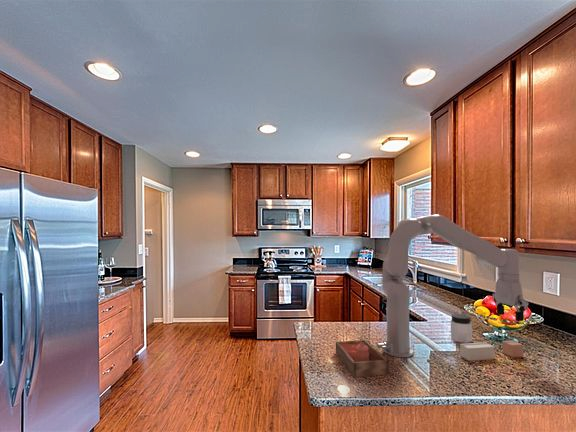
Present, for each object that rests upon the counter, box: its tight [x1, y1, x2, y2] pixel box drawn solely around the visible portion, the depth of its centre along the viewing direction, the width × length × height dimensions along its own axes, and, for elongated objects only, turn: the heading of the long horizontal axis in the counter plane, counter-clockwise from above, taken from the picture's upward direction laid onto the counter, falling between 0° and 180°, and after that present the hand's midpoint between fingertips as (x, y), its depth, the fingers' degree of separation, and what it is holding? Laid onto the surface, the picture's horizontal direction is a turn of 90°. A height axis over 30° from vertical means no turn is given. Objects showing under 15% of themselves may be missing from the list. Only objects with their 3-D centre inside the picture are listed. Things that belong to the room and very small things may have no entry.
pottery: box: [340, 342, 371, 362], centre depth 130 cm, size 18×10×10 cm, turn 8°
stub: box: [501, 339, 524, 358], centre depth 134 cm, size 5×5×5 cm
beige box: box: [459, 342, 496, 361], centre depth 132 cm, size 12×5×5 cm, turn 98°
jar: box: [450, 313, 473, 344], centre depth 153 cm, size 9×8×12 cm
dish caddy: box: [335, 339, 389, 378], centre depth 128 cm, size 14×23×5 cm, turn 8°
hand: (509, 317), depth 135 cm, fingers open, 9 cm apart
